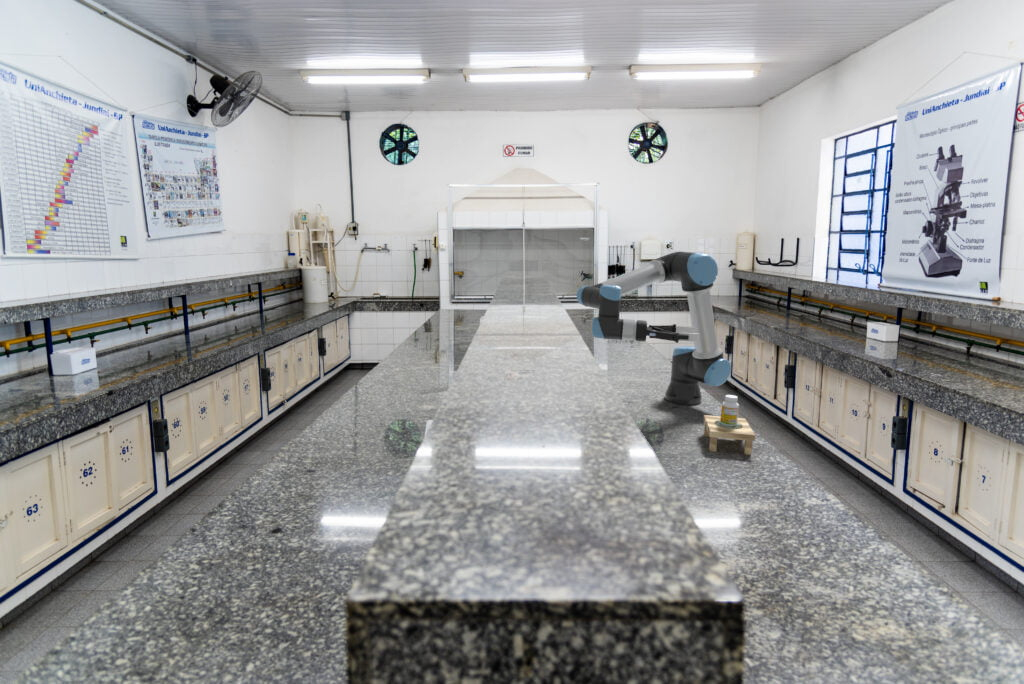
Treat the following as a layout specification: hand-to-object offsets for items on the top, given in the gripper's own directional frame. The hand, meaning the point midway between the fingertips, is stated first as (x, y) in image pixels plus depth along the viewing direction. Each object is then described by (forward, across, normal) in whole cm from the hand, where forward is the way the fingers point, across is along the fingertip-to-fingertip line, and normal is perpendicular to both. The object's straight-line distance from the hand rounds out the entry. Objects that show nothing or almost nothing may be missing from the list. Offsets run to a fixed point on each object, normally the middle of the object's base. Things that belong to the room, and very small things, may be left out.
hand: (696, 334), depth 218 cm
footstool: (+12, +13, -35) cm, 39 cm away
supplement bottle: (+12, +13, -28) cm, 33 cm away
